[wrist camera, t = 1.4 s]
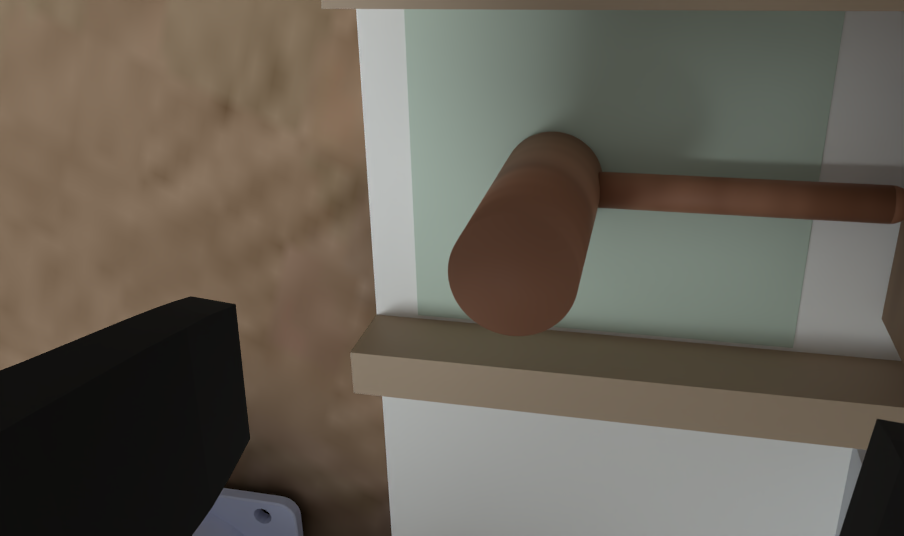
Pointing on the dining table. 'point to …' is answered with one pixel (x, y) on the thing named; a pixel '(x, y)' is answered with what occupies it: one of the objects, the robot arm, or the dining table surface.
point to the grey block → (850, 484)
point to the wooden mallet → (588, 188)
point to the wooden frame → (633, 265)
